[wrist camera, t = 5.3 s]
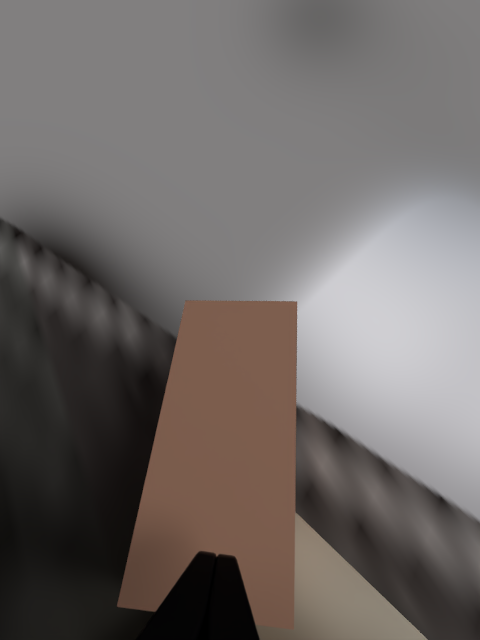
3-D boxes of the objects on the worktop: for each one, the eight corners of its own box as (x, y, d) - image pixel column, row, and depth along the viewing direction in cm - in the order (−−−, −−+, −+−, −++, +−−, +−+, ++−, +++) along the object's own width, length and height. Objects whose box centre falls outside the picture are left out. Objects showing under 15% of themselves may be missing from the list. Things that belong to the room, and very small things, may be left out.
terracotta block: (293, 630, 9) (296, 301, 15) (116, 607, 10) (185, 300, 15) (292, 618, 13) (295, 358, 18) (164, 601, 13) (205, 355, 19)
